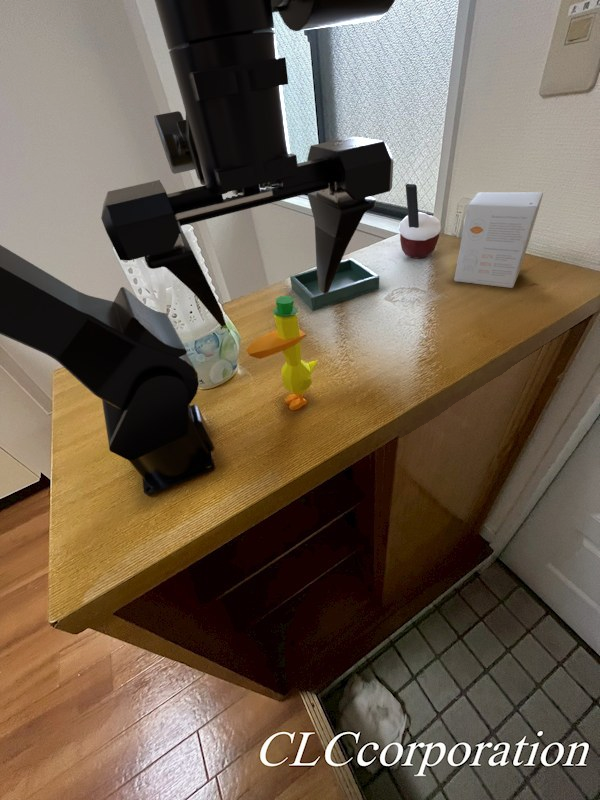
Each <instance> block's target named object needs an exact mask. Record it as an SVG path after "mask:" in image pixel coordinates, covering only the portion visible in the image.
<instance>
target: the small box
mask: <svg viewBox="0 0 600 800" xmlns="http://www.w3.org/2000/svg"><path fill="white" fill-rule="evenodd" d="M543 196H544V192H543V191H537V192H536V191H534V192H533V191H530V192H529V191H528V192H527V191H525V192H524V191H523V192H521V191H520V192H519V191H513V192H510V191H506V192H505V191H503V192H501V191H499V192H498V191H497V192H495V191H489V192H486V191H484V192H483V191H482V192H481V191H479V192H477V193H476V194H475V196H474V197H473V198H472V199H471V201H470V202H469V203H468V204H467V206H466V211H465V217H464V222H463V229H462V234H461V240H460V245H459V251H458V256H457V263H456V267H455V274H454V282H457V283H464V284H465V283H466V284H467V283H468V284H476V285H482V286H483V285H484V286H492V287H501V288H508V289H513V288H514V287H515V284H516V283H517V282H516V281H517V279H518V276H519V273H520V271H521V269H522V265H523V262H524V259H525V256H526V253H527V249H528V246H529V242H530V240H531V236H532V233H533V230H534V226H535V223H536V220H537V218H538V217H537V216H538V213H539V211H540V206H541V203H542V200H543Z"/></svg>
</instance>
